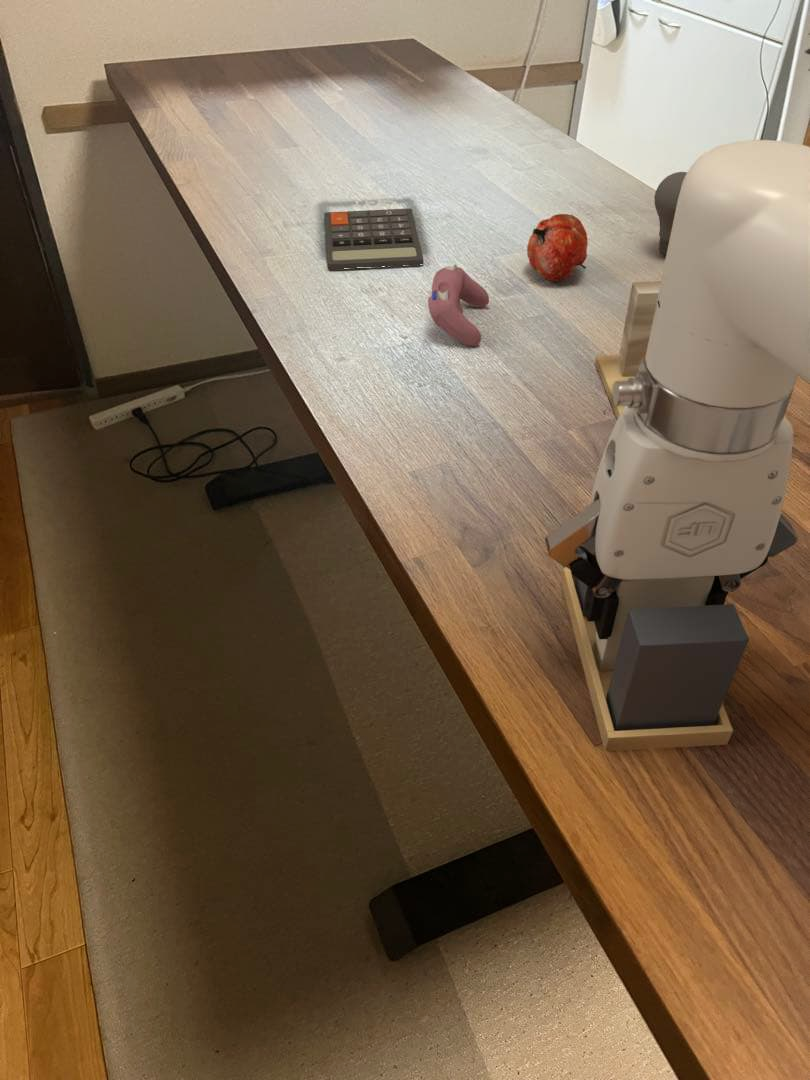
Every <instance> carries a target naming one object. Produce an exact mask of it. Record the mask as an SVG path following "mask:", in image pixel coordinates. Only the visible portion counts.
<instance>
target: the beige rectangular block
mask: <svg viewBox="0 0 810 1080" xmlns="http://www.w3.org/2000/svg"><path fill="white" fill-rule="evenodd" d="M714 578H715V576H703V577H685V578H663V579H635V580H627V579H623V580H622V582H621V583H620V584H619V585H618V587H617V588H616V589H615V591H616V594H617V596H618V598H619V604H618V608H617V613H616V617H615V621H614V625H613V629H612V633H611V637H608V639H599V637H598V634H597V632H596V636H595V641H594V646H593V647H594V651H595V655H596V658H597V662H598V665H599V669H600V670H601V671H602V670H613V669H614V665H615V661H616V657H617V654H618V650H619V646H620V642H621V638H622V634H623V630H624V626H625V622H626V618H627V615H628V611H629V610H630V609H648V608H667V607H687V606H705V604H706V601H707V598H708V595H709V592H710V590H711V587H712V584H713V581H714Z"/></svg>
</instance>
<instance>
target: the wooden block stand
mask: <svg viewBox="0 0 810 1080" xmlns="http://www.w3.org/2000/svg"><path fill="white" fill-rule="evenodd" d="M660 283H661V280H659V281H658V280H657V281H656V280H655V281H632V283H631V288H630V292H629V294H630V295H629V300H628V304H627V311H626V316H625V321H624V327H623V332H622V337H621V342H620V346H619V353H618V354H605V355H596V356H595V360H594V361H595V362H594V364H595V367H596V369H597V372H598V375H599V378H600V380H601V382H602V385H603V387H604V390H605V392H606V395H607V397H608V400H609V403H610V406H611V407H612V410H613V412H614V415H615V417H616V421H617V420H618V418H619V416H620V414H621V412H622V410H623V408H624V406H615V405H614V403H613V396H612V391H613V385H614V382H615V381H627V380H628V379H629V378H634V377H635V376H636V374H637V372H638V370H639V365H640V361H641V359H645V356H646V352H647V347H648V342H649V337H650V332H651V327H652V322H653V317H654V312H655V307H656V303H657V298H658V293H659V288H660Z"/></svg>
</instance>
